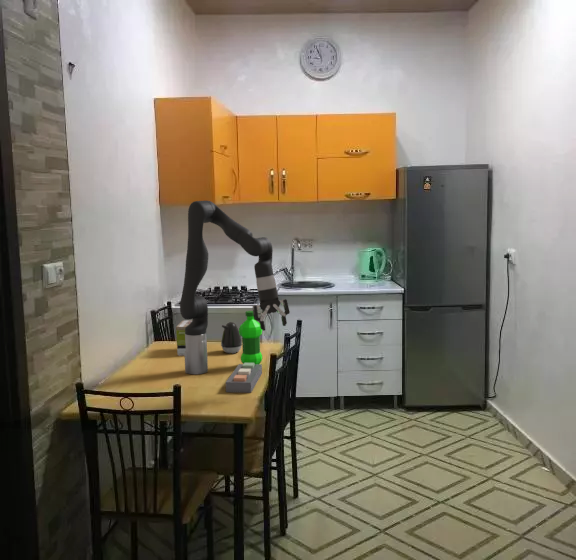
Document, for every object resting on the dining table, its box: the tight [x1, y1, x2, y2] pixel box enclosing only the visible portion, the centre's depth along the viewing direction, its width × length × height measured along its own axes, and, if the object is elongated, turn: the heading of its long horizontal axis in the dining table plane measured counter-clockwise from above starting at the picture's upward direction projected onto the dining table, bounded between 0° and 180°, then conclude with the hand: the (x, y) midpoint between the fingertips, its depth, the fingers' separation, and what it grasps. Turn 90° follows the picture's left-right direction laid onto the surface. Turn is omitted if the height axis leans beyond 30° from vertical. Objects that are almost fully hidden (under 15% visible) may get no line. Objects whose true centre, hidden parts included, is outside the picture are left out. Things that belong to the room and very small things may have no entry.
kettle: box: [220, 321, 242, 354], centre depth 297 cm, size 10×10×15 cm
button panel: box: [225, 363, 263, 394], centre depth 249 cm, size 10×26×4 cm, turn 173°
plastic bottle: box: [238, 310, 263, 364], centre depth 271 cm, size 10×10×25 cm
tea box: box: [175, 319, 193, 357], centre depth 300 cm, size 15×10×15 cm, turn 178°
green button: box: [242, 363, 255, 369], centre depth 257 cm, size 4×4×3 cm
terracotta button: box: [234, 375, 247, 382], centre depth 239 cm, size 4×4×3 cm
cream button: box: [238, 368, 251, 375], centre depth 248 cm, size 4×4×3 cm
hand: (274, 328), depth 239 cm, fingers open, 8 cm apart
